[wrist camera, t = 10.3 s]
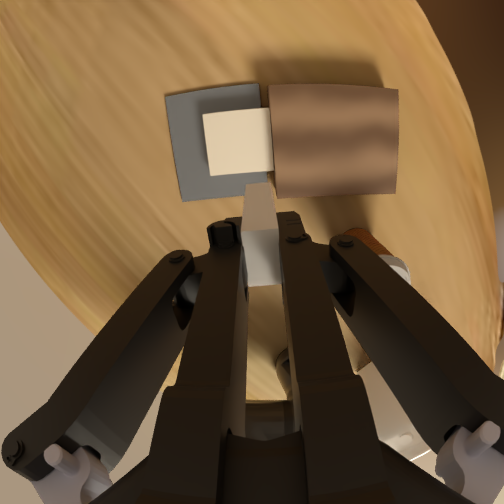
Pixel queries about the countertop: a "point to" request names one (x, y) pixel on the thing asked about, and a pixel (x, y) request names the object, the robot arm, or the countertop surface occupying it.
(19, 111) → the countertop surface
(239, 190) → the rubber mat
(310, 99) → the walnut board
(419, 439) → the milk
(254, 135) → the coaster
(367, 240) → the disposable coffee cup
